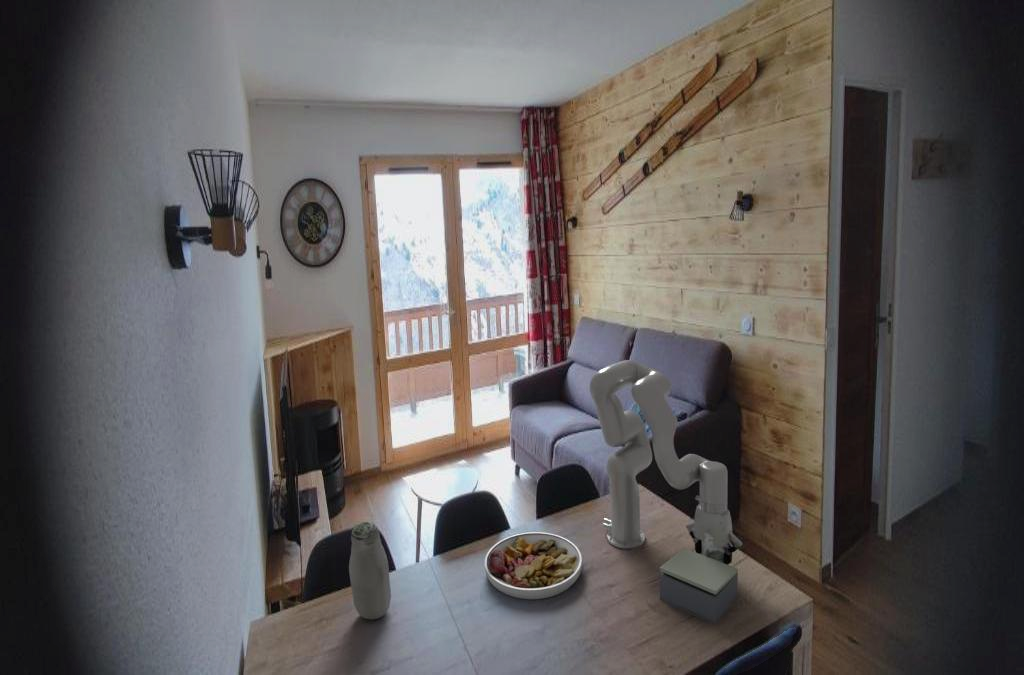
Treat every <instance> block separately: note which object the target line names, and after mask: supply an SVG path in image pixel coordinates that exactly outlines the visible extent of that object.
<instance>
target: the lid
mask: <svg viewBox="0 0 1024 675" xmlns="http://www.w3.org/2000/svg"><path fill="white" fill-rule="evenodd" d="M659 571H660V573H661V572H664V573H666V574H668V575H671V576H673V577H675V578H678V579H680V580H682V581H685V582H687V583H689V584H692V585H694V586H696V587H699V588H701V589H703V590H706V591H708V592H710V593H713V594H715V595H716V594H717V593H718V592H719V591H720V590H721V589H722V588H723V587H724V586H725V585H726V584H727V583H728V582H729V581H730V580H731V579H732V578H733V577H734V575H735V574H736V573H737V572H738V571H739V569H738V568H737V567H735V566H732V565H730V564H728V565H727V564H724V563H722V562H719V561H716V560H714V559H711V558H709V557H706V556H703V555H701V554H698V553H696V551H692V550H690V549H688V548H685V547H683V548H682V549H680V551H678V552H677V553H675V554H674V555H673V556H672V557H671V558H670V559H668V560H667V561H666V562H665V563H663V564H662V565H661V566H660V567H659ZM738 573H739V572H738Z"/></svg>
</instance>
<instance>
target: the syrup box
mask: <svg viewBox="0 0 1024 675" xmlns="http://www.w3.org/2000/svg"><path fill="white" fill-rule="evenodd" d="M724 553H726V552H725V550H724V549H723V547H719V546H716V545H714V544H713V536H711V535H709V534H707V533H705V539H704V541H702V540H701V555H703V556H706V557H709V558H711V559H714V560H716V561H719V562H722V563H724Z"/></svg>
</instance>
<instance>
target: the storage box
mask: <svg viewBox="0 0 1024 675" xmlns="http://www.w3.org/2000/svg"><path fill="white" fill-rule="evenodd" d="M738 573H739V572H737V573H736V574H735V575H734V577H733V578H732V579H731V580H730V581H729V582H728V583H727V584H726V585H725V586H724V587H723V588H722V589H721V590H720V591H719V592H718V593H717V594H716V595H715V594H713V593H710V592H708V591H706V590H703V589H701V588H699V587H696V586H694V585H692V584H689V583H687V582H685V581H682V580H680V579H678V578H675V577H673V576H671V575H668V574H666V573H664V572H661V571H660V573H659V600H660V601H662V602H664V603H666V604H668V605H671V606H672V607H675V608H677V609H679V610H680V611H681V610H682V611H683V612H685V613H687V614H690V615H692V616H694V617H696V618H698V619H701V620H703V621H705V622H707V623H708V624H711V625H713V626H717V624H718V623H719V622H720V620H721V619H722V618H723V617H724V615H725V614H726V613H727V611H728V610H729V609H730V608H731V607H732V606H733V604H734V603H735V602H736V601H737V599H738V580H739V578H738V577H739V574H738Z"/></svg>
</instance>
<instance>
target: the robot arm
mask: <svg viewBox="0 0 1024 675" xmlns="http://www.w3.org/2000/svg"><path fill="white" fill-rule="evenodd" d="M631 386H632V387H631ZM628 387H631V389H630V390H631V391H630V392H631V396H632V398H633V401H634V402H635V404H636V406H637V408H638V410H639V412H640V413H641V415H642V417H643V419H644V420H645V422H646V424H647V426H648V428H649V429H650V431H651V436H652V438H651V440H652V441H651V442H652V448H651V444H650V439H649V436H648V432H647V429H646V426H645V422H644V421H643V419H642V418H641V416H640V415H639V414H638V413H637V412H635V411H633V410H624V409H623V403H622V401H621V399H620V398H619V397H618V395H617V394H616V393H617V392H619V391H622V390H624V389H626V388H628ZM671 391H672V384H671V381H670V380H669V378H668V377H667V376H666V375H665V374H663V373H662V372H660V371H658V370H657V369H654V368H652V367H649V366H647V365H645V364H642V363H640V362H638V361H636V360H631V359H624V360H621V361H619V362H616V363H614V364H610V365H607V366H605V367H603V368H602V369H600V370H599V371H596V372H595V373H594V374H593V375H592V377H591V379H590V381H589V393H590V396H591V399H592V401H593V404H594V406H595V410H596V414H597V418H598V423H599V426H600V430H601V433H602V437H603V439H604V442H605V443H606V445H607V446H609V447H611V448H619V447H621V446H623V445H624V446H623V447H621V448H619V449H618V450H616V451H615V452H613V453H612V454H611V455H610V456H609V457H608V459H607V462H606V472H607V475H608V481H609V495H610V496H609V497H610V500H609V501H610V519H609V518H607V517H604V518H603V523H602V527H603V528H606V529H607V530H608V531H607V532H606V540H607V542H608V543H609V544H610V545H611V546H613V547H616V548H619V549H624V550H631V549H637V548H639V547H642V546H643V545H644V543H645V542H646V535H645V534H644V532H643V531H642V530H641V513H640V512H641V511H640V510H641V509H640V508H641V506H640V499H641V498H640V488H639V485H638V482H637V479H636V476H637V475H638V474H640V473H641V472H643V471H644V470H646V469H647V468H649V466H650V465H651V463H652V461H653V455H654V459H655V463H656V464H657V467H658V469H659V470H660V472H661V474H662V476H663V477H664V479H665V480H666V482H667V483H668V484H669V485H670V486H671V487H672V488H674V489H676V490H682V491H683V490H685V489H688V488H689V487H690V486H691V485H693V484H694V483H696V482H699V495H696V496H695V500H696V501H697V502H698V504H697V505H696V508H695V514H694V520H693V522H689V523H687V524H686V525H685V528H686V529H687V532H688V534H689V536H690V537H691V538H692V541H693V543H694V552H696V553H698V554H701V540H702V541H704V539H705V533H707V534H709V535H711V536H713V544H714V545H716V546H719V547H723V549H724V550H725V552H726V553H724V564H727V565H730V564H732V561H733V553H735V552H736V551H737V550H738V549H739V548H741V546H742V545H743V542H742V541H741V539H739V538H738V537H737V536H736V535H735V534H734V533H733V522H732V517H731V513H730V510H729V509H728V469H727V466H726V465H725V464H724V463H721V462H719V461H712V460H709V459H706V458H705V457H702V456H700V455H698V454H695V453H688V454H686V455H684V456H683V457H681V458H680V459H679V457H678V455H677V452H676V450H675V444H674V438H675V434H676V430H677V426H678V418H677V416H676V415H675V413H674V412H673V409H672V408H671V406H670V403H668V400H667V399H666V398H667V397H668V396H669V395H670V393H671ZM652 449H653V451H652ZM652 452H653V453H652ZM731 542H733V543H734V545H732V543H731Z"/></svg>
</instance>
